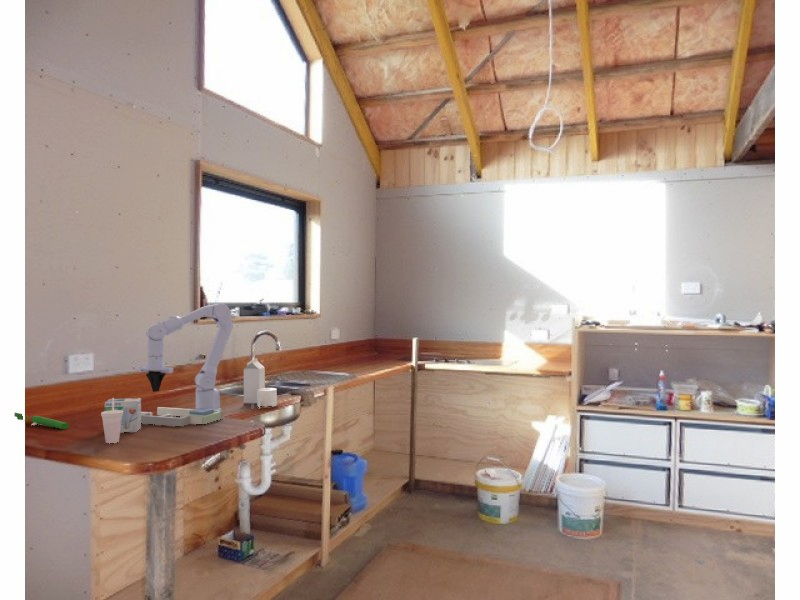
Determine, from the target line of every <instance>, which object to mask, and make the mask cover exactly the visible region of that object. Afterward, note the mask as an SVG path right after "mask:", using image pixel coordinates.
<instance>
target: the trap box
mask: <svg viewBox="0 0 800 600" xmlns="http://www.w3.org/2000/svg"><path fill="white" fill-rule="evenodd" d="M156 409H157V410H156V411H157V412H156V415H153V412H151V411H149V412H148V411H141V423H142V424H141V425H148V424H153V425H152V426H161V425H169V426H168V427H175V426H182V427H185V426H184V425H186V426H188V424H189V425H196V424H206V425H208V424H207V423H209V424H211V423H210V422H212V423H214V422H213V421H215V422H217V421H216V420H218V421H221V420H223V410H214V413H212V414H209V415H205V416H203V415H192V414H190V411H192V410H196V408H180V407H165V406H164V407H162V406H158V407H157V408H156ZM176 416H180V417H176ZM220 419H221V420H220ZM154 424H155V425H154Z"/></svg>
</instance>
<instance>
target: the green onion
mask: <svg viewBox="0 0 800 600" xmlns="http://www.w3.org/2000/svg"><path fill="white" fill-rule="evenodd" d="M22 414H23V413H20V412H19V413H18V412H14V417H16V420H18V421H19V420H20V421H24V420H23V416H22ZM25 421H27V416H26V420H25ZM27 422H28V421H27ZM30 422H32V423H31V426H32V425H33V426H35V425H37V424H38V425H37V426H39V425H43V426H47V427H50V428H54V427H55V428H56V429H58V428H59V429H58V430H62V429H65V428H68V429H69V427H70V424H69V423H68V422H63V421H60V420H57V419H52V418H49V417H44V416H39V415H35V416H33V417H31V421H30ZM65 430H66V429H65Z"/></svg>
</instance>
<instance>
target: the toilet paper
mask: <svg viewBox="0 0 800 600" xmlns="http://www.w3.org/2000/svg"><path fill="white" fill-rule="evenodd" d="M277 390H278V389H277V388H275V387H265V388H261V389H257V403H256V406H258V407H259V408H258V407H257V408H258V409H259V410H260V409H261V407H260V406H264V405H268V406H269V405H270V406H272V407H271V408H273V407H276V406H277V405H278V404H277V403H278V399H277V398H278V396H277V395H278V393H277Z"/></svg>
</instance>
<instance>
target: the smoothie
mask: <svg viewBox="0 0 800 600" xmlns="http://www.w3.org/2000/svg"><path fill="white" fill-rule="evenodd" d="M111 399H112V410H110V411H105V410H104V411H102V412H101V413H100V417H101V418H102V426H103V432H104V433H103V434H104V440H105V444H106V443H109V444H108V445H111V444H110V443H114V444H117V442H118V443H119V442H120V436H121V433H120V429H121V421H122V415H123V411H122V410H114V399H115V398H114V397H112V398H111Z"/></svg>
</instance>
